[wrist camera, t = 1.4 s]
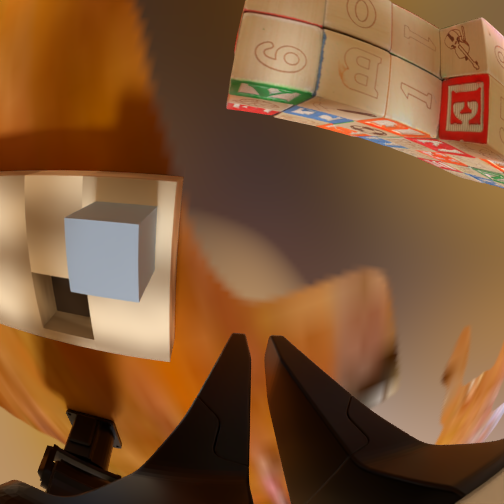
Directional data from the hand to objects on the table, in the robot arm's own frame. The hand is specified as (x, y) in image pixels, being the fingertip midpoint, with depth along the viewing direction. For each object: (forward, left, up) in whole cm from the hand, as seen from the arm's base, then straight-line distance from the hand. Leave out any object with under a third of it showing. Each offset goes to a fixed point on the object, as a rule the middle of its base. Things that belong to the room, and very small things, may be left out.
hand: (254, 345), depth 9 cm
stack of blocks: (+11, -9, -12) cm, 19 cm away
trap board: (-3, +19, -12) cm, 23 cm away
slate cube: (0, +7, -9) cm, 11 cm away
